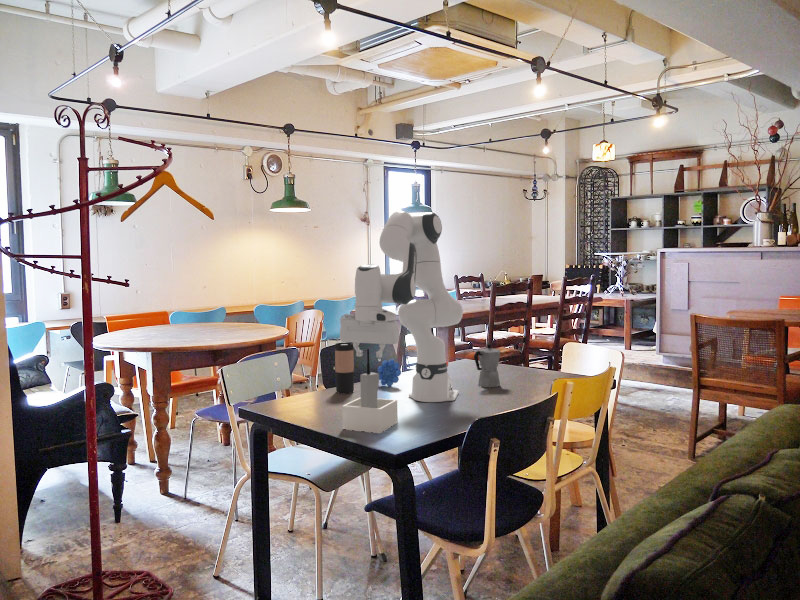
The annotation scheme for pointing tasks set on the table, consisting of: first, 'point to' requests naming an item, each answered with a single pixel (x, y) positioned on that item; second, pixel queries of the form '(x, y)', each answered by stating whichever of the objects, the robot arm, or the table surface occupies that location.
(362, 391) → the vintage mobile phone
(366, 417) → the bin
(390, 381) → the grapes
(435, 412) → the table surface
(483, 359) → the coffeepot
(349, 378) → the travel mug
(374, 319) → the robot arm
